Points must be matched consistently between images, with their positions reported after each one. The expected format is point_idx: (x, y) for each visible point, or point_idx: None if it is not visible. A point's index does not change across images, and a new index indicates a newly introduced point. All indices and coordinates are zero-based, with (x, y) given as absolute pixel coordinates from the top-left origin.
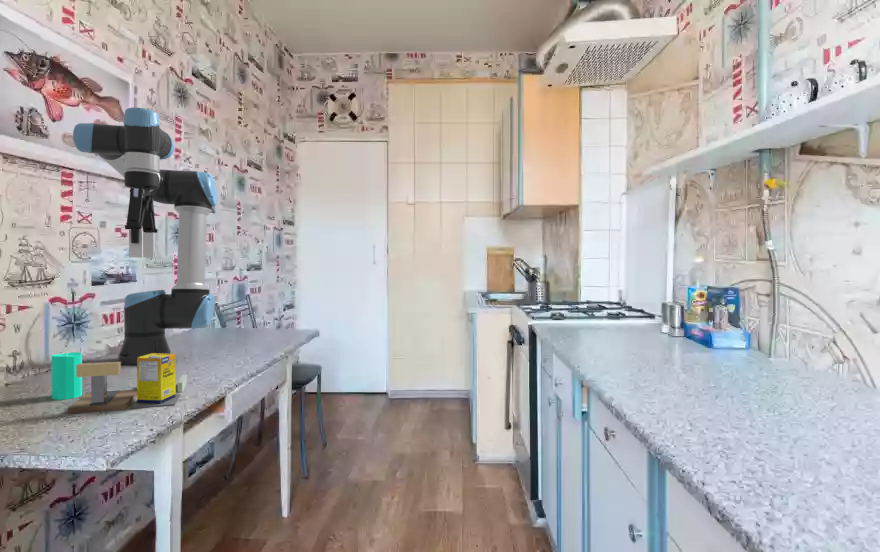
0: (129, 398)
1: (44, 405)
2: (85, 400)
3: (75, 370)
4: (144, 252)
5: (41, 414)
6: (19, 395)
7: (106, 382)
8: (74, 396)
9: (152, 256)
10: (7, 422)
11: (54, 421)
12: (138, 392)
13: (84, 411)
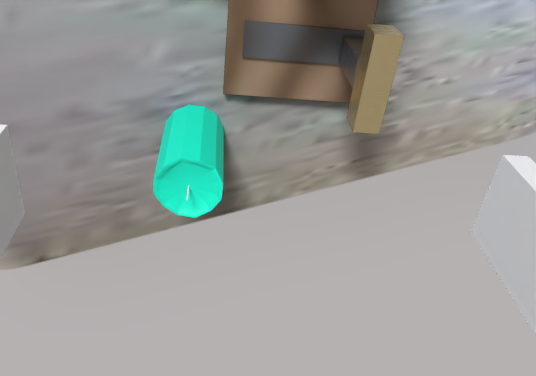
0: None
1: (261, 154)
2: (303, 82)
3: (211, 145)
4: (3, 225)
5: (333, 142)
6: (155, 216)
7: (356, 50)
8: (216, 115)
9: (7, 139)
10: (362, 178)
11: (400, 108)
12: None
13: None
